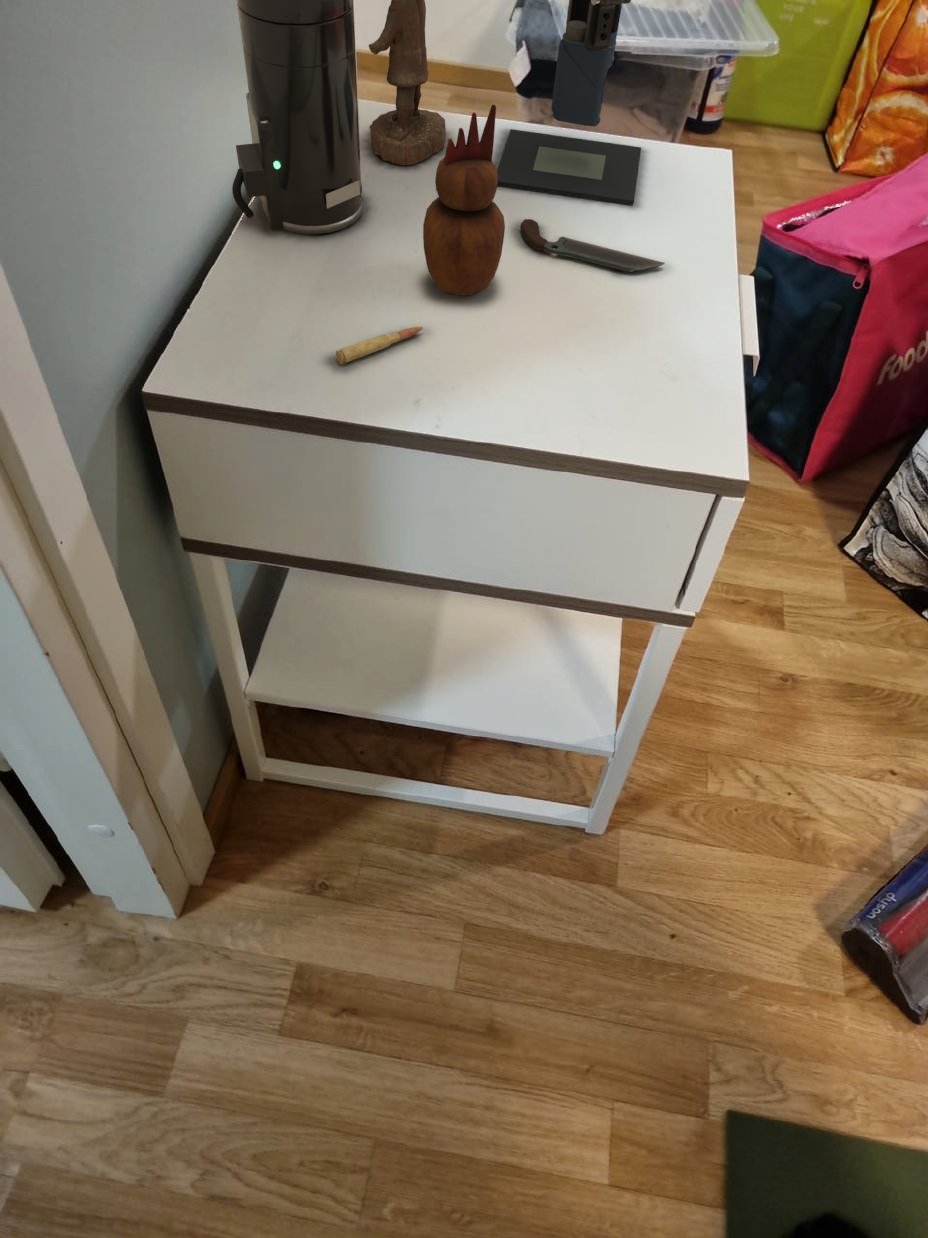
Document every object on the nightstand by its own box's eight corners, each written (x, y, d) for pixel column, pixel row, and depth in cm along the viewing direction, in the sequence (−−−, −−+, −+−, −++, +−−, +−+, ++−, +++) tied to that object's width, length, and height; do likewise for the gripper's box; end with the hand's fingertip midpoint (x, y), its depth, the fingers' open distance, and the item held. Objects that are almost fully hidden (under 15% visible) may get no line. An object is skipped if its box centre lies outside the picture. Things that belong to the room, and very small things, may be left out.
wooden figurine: (501, 269, 82) (517, 93, 70) (496, 307, 78) (512, 129, 66) (427, 262, 82) (430, 85, 70) (418, 299, 78) (420, 120, 66)
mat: (493, 185, 90) (493, 179, 90) (510, 133, 97) (510, 128, 96) (633, 205, 89) (634, 199, 89) (640, 151, 96) (641, 146, 96)
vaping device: (600, 129, 88) (624, -12, 79) (547, 119, 89) (565, -22, 79) (604, 117, 90) (628, -23, 80) (553, 108, 91) (570, -33, 81)
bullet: (335, 358, 73) (341, 367, 73) (335, 348, 72) (341, 356, 72) (418, 328, 76) (426, 336, 76) (419, 318, 75) (426, 326, 75)
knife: (510, 244, 84) (510, 237, 83) (524, 223, 86) (524, 216, 86) (656, 282, 82) (658, 275, 81) (667, 259, 84) (668, 252, 83)
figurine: (380, 120, 97) (374, -111, 81) (450, 129, 97) (458, -102, 81) (362, 161, 92) (352, -78, 76) (435, 170, 92) (441, -68, 75)
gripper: (544, -232, 73) (522, 10, 87) (613, -181, 65) (577, 76, 79) (629, -233, 75) (594, 5, 88) (707, -183, 67) (656, 69, 81)
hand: (587, 37), depth 84 cm, fingers closed on vaping device, 3 cm apart
